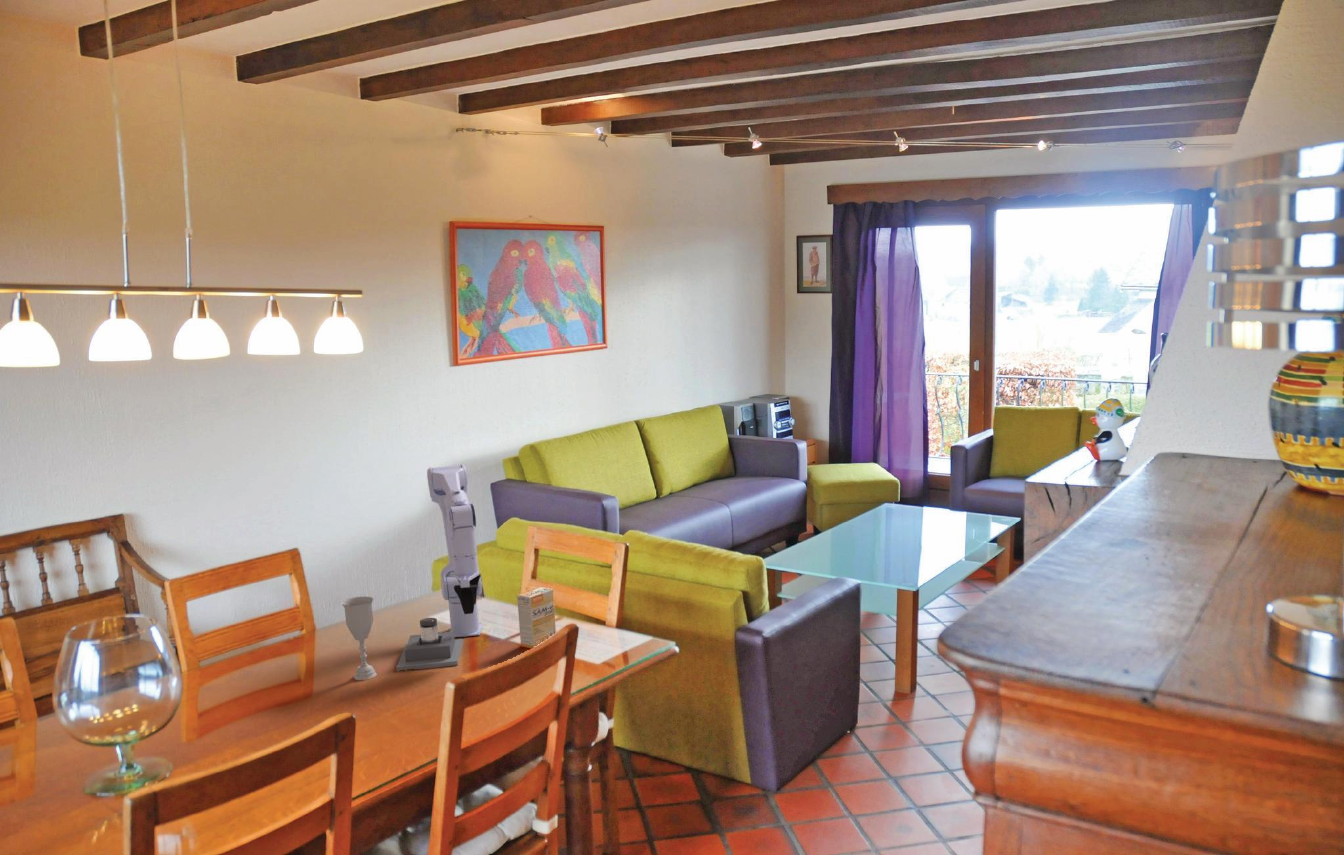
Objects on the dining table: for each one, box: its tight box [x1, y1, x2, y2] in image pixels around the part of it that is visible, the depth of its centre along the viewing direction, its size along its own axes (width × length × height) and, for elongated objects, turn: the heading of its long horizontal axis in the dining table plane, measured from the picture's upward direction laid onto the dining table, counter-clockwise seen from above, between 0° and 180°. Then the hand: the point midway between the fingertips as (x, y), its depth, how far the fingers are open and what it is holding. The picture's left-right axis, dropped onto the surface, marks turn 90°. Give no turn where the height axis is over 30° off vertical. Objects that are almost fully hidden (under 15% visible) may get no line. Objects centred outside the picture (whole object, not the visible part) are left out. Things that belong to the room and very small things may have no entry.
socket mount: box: [395, 631, 464, 672], centre depth 244 cm, size 16×14×4 cm
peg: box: [419, 617, 439, 645], centre depth 244 cm, size 4×4×8 cm
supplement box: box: [516, 586, 557, 649], centre depth 249 cm, size 8×5×13 cm, turn 143°
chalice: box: [341, 596, 378, 681], centre depth 233 cm, size 7×7×18 cm
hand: (470, 608), depth 246 cm, fingers open, 7 cm apart
